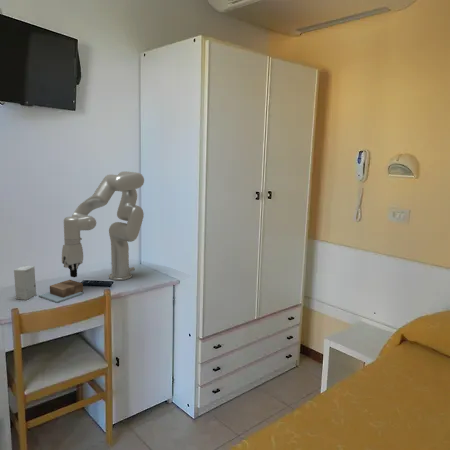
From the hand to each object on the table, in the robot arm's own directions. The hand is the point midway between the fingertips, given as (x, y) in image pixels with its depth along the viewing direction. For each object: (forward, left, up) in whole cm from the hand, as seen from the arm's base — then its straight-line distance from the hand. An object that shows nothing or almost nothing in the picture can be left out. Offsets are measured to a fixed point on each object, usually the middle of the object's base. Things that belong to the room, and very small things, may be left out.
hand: (73, 276), depth 215 cm
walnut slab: (-1, 0, -5) cm, 5 cm away
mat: (+8, 0, -8) cm, 11 cm away
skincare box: (+19, -12, -8) cm, 24 cm away
